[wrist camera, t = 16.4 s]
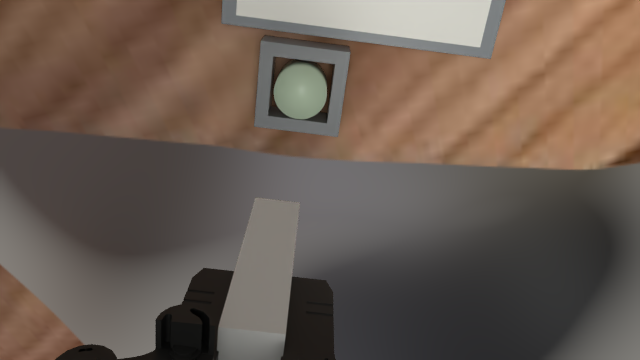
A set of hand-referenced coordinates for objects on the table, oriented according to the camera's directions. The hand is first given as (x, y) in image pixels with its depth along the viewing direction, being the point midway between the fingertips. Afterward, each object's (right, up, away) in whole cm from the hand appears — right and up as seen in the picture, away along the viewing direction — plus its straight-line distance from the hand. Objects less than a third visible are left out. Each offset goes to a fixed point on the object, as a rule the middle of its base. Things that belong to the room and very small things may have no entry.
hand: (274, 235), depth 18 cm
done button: (0, +9, +20) cm, 22 cm away
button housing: (0, +9, +20) cm, 22 cm away
